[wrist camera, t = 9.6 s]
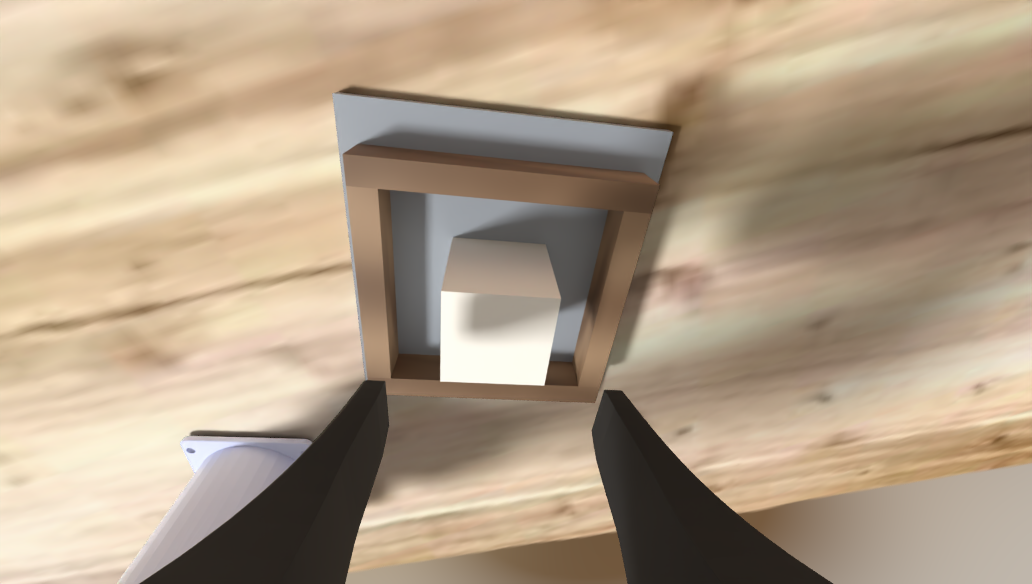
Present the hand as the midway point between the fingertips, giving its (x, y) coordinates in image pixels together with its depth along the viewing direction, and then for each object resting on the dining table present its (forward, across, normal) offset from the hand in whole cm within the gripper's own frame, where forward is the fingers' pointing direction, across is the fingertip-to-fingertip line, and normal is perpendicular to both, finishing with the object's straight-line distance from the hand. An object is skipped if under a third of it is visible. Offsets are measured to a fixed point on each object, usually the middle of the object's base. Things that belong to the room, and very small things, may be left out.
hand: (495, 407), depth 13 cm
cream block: (+8, 0, 0) cm, 8 cm away
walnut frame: (+9, 0, 0) cm, 9 cm away
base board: (+9, 0, 0) cm, 9 cm away
